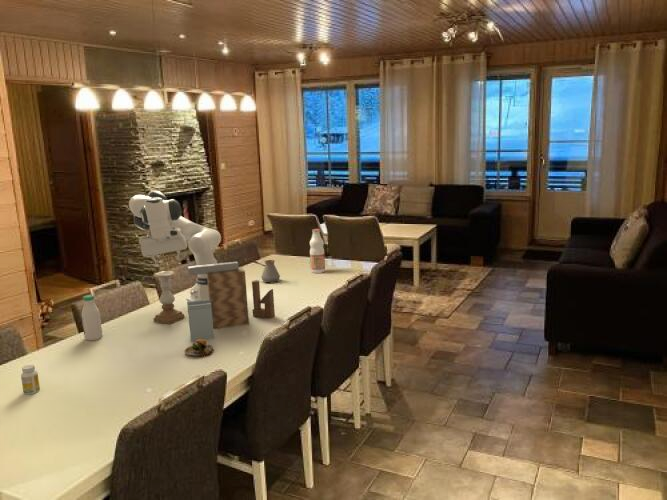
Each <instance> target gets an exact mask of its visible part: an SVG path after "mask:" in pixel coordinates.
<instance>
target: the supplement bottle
mask: <svg viewBox="0 0 667 500" xmlns="http://www.w3.org/2000/svg"><path fill="white" fill-rule="evenodd" d="M21 369H22V373H21V374H20V377H21V385H22V392H23V394H24V395H27V396H28V395H29V396H30V395H34V394H36V393H38V392H39V391H40V388H41V387H40V382H39V381H40V380H39V373H38V371H37V370H36V367H35V365H34V364H26V365H24V366H23V367H21Z"/></svg>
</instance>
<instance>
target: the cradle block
mask: <svg viewBox="0 0 667 500" xmlns="http://www.w3.org/2000/svg"><path fill="white" fill-rule="evenodd" d="M186 303H187V305H186V306H187V312H188V313H187V314H188V325H189V334H190V335H189V336H190V342H196V341H197V340H198V339H204V340H209V339H210V340H211V339H215V334H214V329H213V320H212V309H211V303H210V299H206V300H198V301H187V302H186ZM203 335H204V336H203Z"/></svg>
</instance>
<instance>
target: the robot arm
mask: <svg viewBox="0 0 667 500" xmlns="http://www.w3.org/2000/svg"><path fill="white" fill-rule="evenodd" d="M128 207H129V210H130V211H131V213H132V214H133V215H132V217H133V224H134V225H135V226H136V227H137V228H138V229H140V230H142V231H150V234H148V235H142V236H141V237H139V238H138V243H139V245H140V248H141V249H140V250H141V255H142V256H143V257H149V256H150V258H151V260H152V261H154V265H159V264H160V261H159V259H156V257H155V255H161V254H167V253H172V252H176V253H177V256H175V257H174V258H175V261H180V255H181V251H184V250H186V249H188V250H189V251H190V252H191V253H192V254H193V256H194V259H195V263H196V264H195V265H196V266H198V265H207V264H217V263H218V260H217V259H216V258H215V255H214V253H213V249H216V248H217V247H218V246H219V244H220V243H221V242H222V236H221V233H220V232H219V230H216V229H213V228H209V227H206V226H204V225H200V224H198V223H197V222H196V223H195V222H193V221H191V220H189V219H188V218H186V217H183V216H182V214H183V213H182V212H183V210H182V207H181V204H180V202H179V201H177V199H174V198H172V199H168V197H166V195H165V194H164V193H162V192H161V191H159V190H150V191H149V192H148V194H147V196H146V195H144V194H136V195H133V196H132V197H130V199H129V202H128ZM187 247H188V248H187ZM195 280H196V282H195V284H194V285H193V286H192V287H191V288H190V295H188V296H187V297H186V300H187V302H189V301H198V300H206V299H209V293H208V282H207V274H200V275H197V276H195Z"/></svg>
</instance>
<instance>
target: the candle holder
mask: <svg viewBox="0 0 667 500" xmlns="http://www.w3.org/2000/svg"><path fill="white" fill-rule="evenodd" d="M175 275H176V271H174V270H165V271H164V270H163V271H158V272H156V273H154V274H153V277H154V278H159V280H160V282H161V285H160V288H161V290H162V291H161V292H162V293H161V295H160V297H159V303H160V304H162V305H161V309H162V310H161V311H160V312H159V313H157V314H155V315H154V317H153V318H152V319H153V322H154V323H157V322H159V323H160V324H166V325H172V324H174V323H177V322H178V321H180V319H181V320H183V319H184V317H185V316H186V315H185V314H184V313H183V312H182V311H181V310H177V309H175V308H174V307H175V304H174V302H175V301H176V300H175V299H176V298H175V295H174V294H173V293H172V292H171V290H170V289H171V287H172V284H171V283H170V279H171V277H173V276H175ZM182 318H183V319H182ZM185 318H186V317H185ZM159 323H158V324H159Z"/></svg>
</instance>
